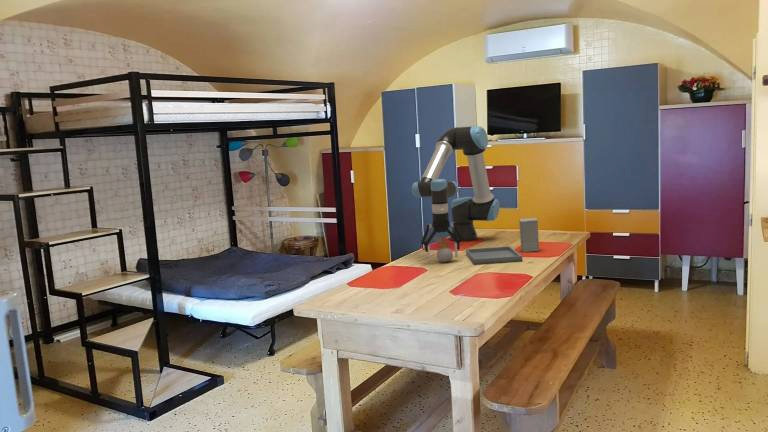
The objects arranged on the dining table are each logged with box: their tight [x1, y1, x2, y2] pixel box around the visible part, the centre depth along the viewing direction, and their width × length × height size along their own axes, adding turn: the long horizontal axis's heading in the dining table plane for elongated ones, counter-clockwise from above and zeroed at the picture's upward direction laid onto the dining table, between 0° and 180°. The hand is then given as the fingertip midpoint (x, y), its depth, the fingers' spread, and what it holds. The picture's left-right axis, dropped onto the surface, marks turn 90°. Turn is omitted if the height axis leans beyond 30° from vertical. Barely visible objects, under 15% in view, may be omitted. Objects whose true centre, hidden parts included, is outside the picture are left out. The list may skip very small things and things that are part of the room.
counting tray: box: [465, 245, 523, 266], centre depth 291 cm, size 24×22×2 cm
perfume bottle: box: [434, 235, 454, 263], centre depth 289 cm, size 8×10×12 cm
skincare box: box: [518, 217, 540, 253], centre depth 300 cm, size 8×7×16 cm
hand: (442, 257), depth 289 cm, fingers open, 12 cm apart
